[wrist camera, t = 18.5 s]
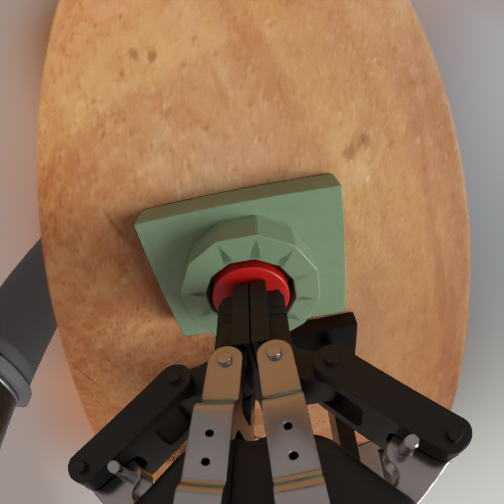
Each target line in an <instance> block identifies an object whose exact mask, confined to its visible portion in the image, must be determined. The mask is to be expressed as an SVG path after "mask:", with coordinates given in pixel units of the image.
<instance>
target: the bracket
mask: <svg viewBox="0 0 504 504" xmlns="http://www.w3.org/2000/svg"><path fill="white" fill-rule="evenodd" d="M290 335H291V341H292V343H293V344H294V345H295V346H296V347H297V348H299V349H301V350H304V351H311V352H316V351H317V350H318V349H320V348H321V347H323V346H326V345H338V346H341V347H343V348H345V349H346V350H348V351H350V352H351V353H353V354H355V348H356V336H357V322H356V319H355V316H354V314H353V312H351V313H347V314H342V315H337V316H332V317H326V318H321V319H316V320H310V321H305V322H304V323H303V324H301V325H300V326H298V327H296V328H295V329H293V330H291V331H290ZM254 389H255V393H256V395H257V398H258V401H259V403H260V406H261V408H262V402H261V399H262V391H261V384H260V377H259V376H257V377H254ZM305 401H306V405H309V404H315V403H318V402H317V401H314V400H306V399H305ZM262 411H263V410H262ZM328 415H329V420H330V425H331V431H332V436H333V441H334V442H336V443H338V444H339V445H341V446H342V447H343V448H344V449H346V450H347V451H348V452H349V453H351V454H352V455H353V456H354V457H356V458H357V459H358V460H360V455H359V450H358V446H357V441H356V436H355V432H354V429H353V428H351V427H350V426H348V425H347V424H346V423H344V422H343V421H341V420H340V419H339V418H337V417H336V416H334V415H333V414H332V413H330V412H329V411H328ZM360 461H361V460H360Z"/></svg>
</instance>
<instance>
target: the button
mask: <svg viewBox="0 0 504 504" xmlns="http://www.w3.org/2000/svg"><path fill="white" fill-rule="evenodd" d="M262 280H266V285H267V289H268V291H270V290H276V289H279V290H280V292H281V293H282V294H283V295H284V298H285V304H286V306H287V304H288V302H289V297H290V292H289V286H288V281H287V276H286V272H285V271H284V270H283V269H282V268H281V267H280V266H278V265H274V264H271V263H267V262H263V261H260V260H256V259H252V260H247V261H241V262H235V263H229V264H228V265H227V266H225V267H224V268H223V269H221V270H220V271H219V272H217V273H216V274H215V277H214V287H213V302H214V305H215V307H216V309H217V310H218V306H219V305H220V303H221V301H222V300H223V298H227V297H232V290H233V285H238V284H244V283H249V285H250V282H256V281H262Z"/></svg>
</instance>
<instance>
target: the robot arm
mask: <svg viewBox="0 0 504 504" xmlns="http://www.w3.org/2000/svg"><path fill="white" fill-rule="evenodd" d="M257 376H259V377H260V384H261V391H262V399H261V402H262V410H263V417H264V424H265V431H266V437H264V438H261V439H258V440H255V436H254V409H255V389H254V377H257ZM305 399H306V400H314V401H317V402H318V404H320V405H321V406H322V407H324V408H325V409H326V410H328V411H329V412H330V413H332V414H333V415H334V416H336V417H337V418H339V419H340V420H341V421H343V422H344V423H346V424H347V425H348V426H350V427H351V428H353V429H354V430H355V431H357V432H358V433H360V434H361V435H363V436H364V437H366V438H367V439H368V440H370V441H371V442H373V443H374V444H376V445H377V446H379V447H380V448H382V449H383V450H384V452H383V455H382V465H383V467H384V468H385V470H386V471H387V472H389V473H390V475H391V477H392V479H393V485H392V484H390V483H389V482H388V481H386V480H385V479H384V478H382V477H381V476H379V475H378V474H377V473H375V472H374V471H373V470H371V469H370V468H369V467H367V466H366V465H365V464H363V463H362V462H361V461H360V460H358V459H357V458H356V457H354V456H353V455H352V454H351V453H349V452H348V451H347V450H346V449H344V448H343V447H342V446H341V445H339V444H338V443H336V442H334V441H333V440H331V439H328V438H326V437H322V436H318V435H314V434H313V430H312V426H311V422H310V417H309V413H308V409H307V405H306V401H305ZM18 401H19V396H18V394H17V392H16V391H15V390H14V388H13V387H12V386H11V385H10V384H9V383H8V382H7V381H6V380H5V379H4V378H3V377H2V376H1V375H0V448H1V445H2V442H3V439H4V436H5V433H6V431H7V428H8V425H9V422H10V420H11V417H12V414H13V411H14V409H15V406H16V405H17V404H18ZM471 438H472V428H471V426H470V424H469V423H468V421H467V420H465V419H464V418H462V417H460V416H459V415H457V414H455V413H453V412H451V411H450V410H448V409H446V408H444V407H443V406H441V405H439V404H437V403H436V402H434V401H432V400H430V399H429V398H427V397H425V396H423V395H422V394H420V393H418V392H417V391H415V390H413V389H411V388H410V387H408V386H406V385H405V384H403V383H401V382H399V381H398V380H396V379H394V378H393V377H391V376H389V375H388V374H386V373H384V372H383V371H381V370H379V369H378V368H376V367H374V366H373V365H371V364H369V363H368V362H366V361H364V360H363V359H361V358H359V357H358V356H356V355H355V354H353V353H351V352H350V351H348V350H346V349H345V348H343V347H341V346H338V345H326V346H323V347H321V348H320V349H318V350H317V351H316V352H311V351H304V350H301V349H299V348H297V347H296V346H295V345H294V344H293V343H292V341H291V335H290V329H289V322H288V316H287V310H286V304H285V298H284V295H283V294H282V293H281V292H280V290H279V289H276V290H270V291H268V289H267V285H266V280H262V281H256V282H250V285H249V283H244V284H238V285H233V290H232V297H227V298H223V300H222V301H221V303H220V305H219V306H218V318H217V331H216V344H215V351H213V352H212V353H211V355H210V357H209V359H208V361H207V362H206V363H204V364H203V365H200V366H198V367H195V368H192V369H190V370H189V369H188V368H187V367H185V366H183V365H172V366H169V367H167V368H166V369H165V370H163V371H162V372H161V373H160V374H159V375H158V376H157V377H156V378H155V379H154V380H153V381H152V382H151V383H150V384H149V385H148V386H147V387H146V388H145V389H144V390H143V391H142V392H141V393H140V394H139V395H137V396H136V397H135V398H134V399H133V400H132V401H131V402H130V403H129V404H128V405H127V406H126V407H125V408H124V409H123V410H122V411H121V412H120V413H119V414H118V415H116V416H115V417H114V418H113V419H112V420H111V421H110V422H109V423H108V424H107V425H106V426H105V427H104V428H103V429H102V430H101V431H99V432H98V433H97V434H96V435H95V436H94V437H93V438H92V439H91V440H90V441H89V442H88V443H87V444H85V446H83V447H82V448H81V449H80V450H79V451H78V452H77V453H76V454H75V455H74V456H73V457H72V458H71V459H70V461H69V464H68V472H69V475H70V477H71V478H72V479H73V480H74V481H76V482H78V483H80V484H81V485H84V486H85V487H86V488H88V489H90V490H92V491H93V492H94V493H95V495H96V496H97V497H98V498H99V500H100V501H101V502H102V503H103V504H419V502H420V501H421V500H422V499H423V497H424V496H425V495H426V493H427V492H428V491H429V490H430V488H431V487H432V486H433V484H434V483H435V481H436V480H437V479H438V477H439V476H440V474H441V473H442V472H443V470H444V469H445V467H446V465H447V464H448V463H449V462H451V461H452V460H453V459H454V458H455V457H456V456H458V455H459V454H460V453H461V452H462V451H463V450H464V449H465V448H466V447H467V446H468V445H469V443H470V441H471ZM187 439H188V440H187ZM186 440H187V446H186V451H185V452H184V453H182V454H181V455H180V456H179V457H178V458H177V459H176V460H175V461H174V462H173V463H172V464H171V465H170V466H169V468H168V469H167V470H166V471H165V472H164V473H163V474H162V475H161V476H160V477H159V478H158V479H157V480H156V481H155V483H154V484H153V477H152V475H153V474H154V473H155V472H156V471H157V470H158V469H159V468H160V467H161V466H162V465H163V464H164V463H165V462H166V461H167V460H168V459H169V458H170V457H171V456H172V455H173V454H174V453H175V452H176V451H177V450H178V448H179V447H180V446H181V445H182V444H183V443H184V442H185V441H186Z"/></svg>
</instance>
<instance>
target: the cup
mask: <svg viewBox="0 0 504 504" xmlns="http://www.w3.org/2000/svg"><path fill="white" fill-rule="evenodd" d="M379 449H382V448H380V447H379V446H377V445H376V444H374V443H373V442H368V443H365V444H363V445H361V446H358V450H359V455H360V460H361V462H362V463H363V464H365V465H366V466H367V467H369V468H370V469H371V470H373V471H374V472H375V473H377V474H378V475H379V476H381V477H382V478H384V479H385V480H386V481H388V482H389V483H390V484H392V485H393V479H392V477H391V475H390V473H389V472H387V471H386V470H385V468H384V467H383V465H382V455H383V452H384V451H383V452H381V453H378V450H379ZM419 504H420V502H419Z"/></svg>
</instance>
